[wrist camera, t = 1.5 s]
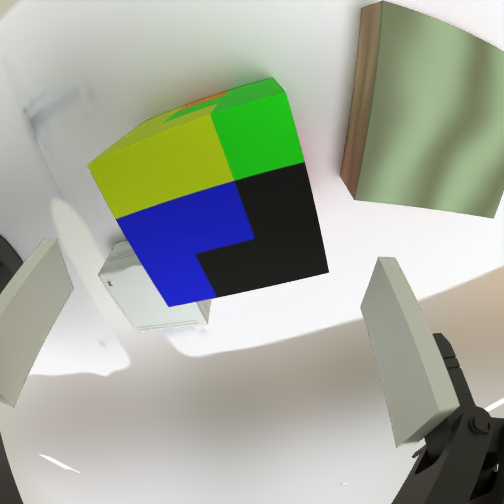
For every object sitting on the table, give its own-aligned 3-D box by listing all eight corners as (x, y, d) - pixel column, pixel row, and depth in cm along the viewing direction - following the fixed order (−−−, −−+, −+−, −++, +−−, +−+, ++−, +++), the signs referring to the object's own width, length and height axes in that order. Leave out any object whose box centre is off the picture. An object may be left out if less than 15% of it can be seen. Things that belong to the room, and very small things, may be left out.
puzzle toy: (193, 225, 27) (168, 307, 19) (147, 120, 22) (87, 164, 14) (305, 195, 26) (329, 272, 17) (273, 77, 20) (285, 92, 12)
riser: (340, 176, 24) (354, 200, 21) (361, 8, 16) (383, 0, 13) (469, 196, 25) (493, 218, 21) (500, 61, 17) (531, 68, 13)
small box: (147, 299, 33) (135, 335, 29) (114, 241, 28) (95, 274, 24) (214, 288, 32) (209, 326, 28) (187, 222, 27) (175, 257, 23)
